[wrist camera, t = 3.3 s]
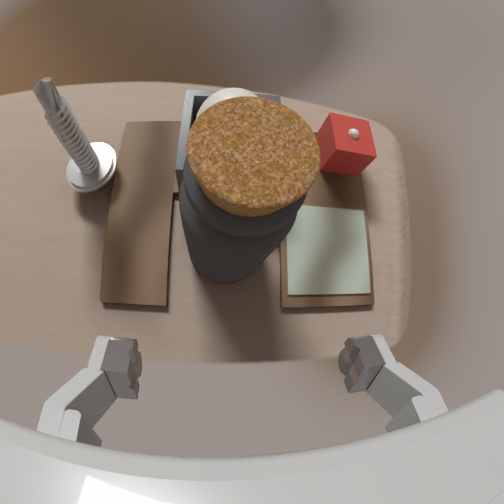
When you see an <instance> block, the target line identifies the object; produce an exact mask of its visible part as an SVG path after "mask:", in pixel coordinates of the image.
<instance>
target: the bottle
mask: <svg viewBox="0 0 504 504" xmlns="http://www.w3.org/2000/svg"><path fill="white" fill-rule="evenodd" d="M186 154H187V155H186V158H185V162H184V166H183V180H182V183H181V187H180V194H179V206H180V213H181V219H182V224H183V229H184V234H185V238H186V242H187V246H188V251H189V254H190V258H191V260H192V262H193V264H194V266H195V268H196V269H197V270H198V271H199V272H200V273H201V274H202V275H203V276H205V277H206V278H208V279H210V280H212V281H215V282H220V283H232V282H236V281H239V280H241V279H243V278H245V277H246V276H248V275H249V274H250V273H251V272H252V271H253V270H255V269H256V268H257V267H258V266H259V265H260V264H261V263H262V262H263V261H264V260H265V259H266V258H267V257H268V255H269V254H270V253H271V252H272V251H273V250H274V249H275V248H276V247H277V246H278V245H279V244H280V243H281V242H282V241H283V240H284V238H285V237H286V236H287V234H288V233H289V232H290V230H291V229H292V227H293V225H294V223H295V220H296V216H297V213H298V211H299V209H300V208H301V206H302V205H303V203H304V200H305V198H306V196H307V192H308V190H309V189H310V188H311V187H312V185H313V184H314V182H315V181H316V178H317V176H318V173H319V169H320V163H321V154H320V148H319V144H318V142H317V139H316V136H315V135H314V133H313V131H312V129H311V128H310V126H309V125H308V124H307V123H306V122H305V121H304V120H303V118H302V117H300V116H299V115H298V114H297V113H296V112H294V111H293V110H292V109H290V108H288V107H286V106H284V105H283V104H281V103H278V102H276V101H273V100H270V99H266V98H261V97H253V96H240V97H233V98H229V99H225V100H223V101H220V102H217V103H215V104H214V105H212V106H210V107H209V108H207V109H206V110H205V111H204V112H202V113H201V114H200V115H199V116H198V117H197V119H196V120H195V121H194V123H193V125H192V126H191V128H190V131H189V134H188V136H187V143H186Z"/></svg>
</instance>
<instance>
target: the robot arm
mask: <svg viewBox="0 0 504 504" xmlns="http://www.w3.org/2000/svg"><path fill="white" fill-rule="evenodd" d="M344 344H345V348H344V349H343V350H341V352H340V354H339V358H338V363H339V369H340V371H341V373H343V374H344V375H345V379H344V383H345V385H346V388H347V391H348V393H353V392H360V391H366V392H367V393H368V394H369V395H370V396H371V397H372V398H373V399H374V400H375V401H376V402H377V403H378V404H379V405H380V406H381V407H382V408H383V409H384V410H386V411H387V412H388V413H389V414H390V415H391V416H392V417H393V419H392V420H391V421H390V422H389V423H388V424H387V426H386V430H387V433H384V434H381V435H377V436H374V437H370V438H366V439H361V440H357V441H353V442H348V443H344V444H339V445H334V446H328V447H323V448H317V449H311V450H304V451H297V452H289V453H281V454H271V455H257V456H241V457H187V456H169V455H157V454H146V453H137V452H130V451H123V450H116V449H111V448H105V447H101V443H102V440H101V439H100V438H99V436H98V435H97V434H96V433H95V432H94V430H93V429H92V428H93V427H94V425H95V424H96V423H97V422H98V421H99V419H100V418H101V417H102V416H103V415H104V413H105V412H106V411H107V410H108V409H109V407H110V406H111V405H112V404H113V403H114V402H115V400H116V399H117V398H126V399H138V392H139V382H138V378H139V377H140V376H141V372H142V358H141V353H140V352H139V351H138V342H137V339H130V338H121V337H112V336H103V335H99V336H98V337H97V338H96V341H95V344H94V347H93V351H92V354H91V357H90V360H89V364H88V367H87V369H86V368H83V369H82V370H81V371H80V372H79V373H78V374H76V375H75V376H74V377H73V378H72V379H71V380H69V381H68V382H67V383H66V384H65V385H64V386H63V387H61V388H60V389H59V390H58V391H57V392H56V393H55V394H53V395H52V396H51V397H50V398H49V399H48V400H47V401H45V403H44V406H43V410H42V413H41V417H40V420H39V424H38V427H37V431H36V430H33V429H30V428H27V427H24V426H21V425H18V424H16V423H13V422H10V421H8V420H5V419H3V418H0V504H504V391H503V390H501V389H496V390H493V391H491V392H489V393H487V394H485V395H483V396H481V397H479V398H477V399H475V400H473V401H471V402H469V403H466V404H464V405H462V406H460V407H458V408H455V409H453V410H450V411H448V410H447V407H446V405H445V403H444V401H443V399H442V397H441V395H440V393H439V391H438V390H437V389H436V388H435V387H434V386H432V385H431V384H429V383H428V382H426V381H425V380H424V379H422V378H421V377H419V376H418V375H417V374H415V373H414V372H412V371H411V370H409V369H408V368H407V367H405V366H404V365H402V364H401V363H397V362H396V361H395V359H394V357H393V355H392V353H391V351H390V349H389V347H388V345H387V343H386V341H385V340H384V338H383V336H382V335H370V336H369V335H368V336H359V337H350V338H348V339H347V340H346V341H345V343H344Z"/></svg>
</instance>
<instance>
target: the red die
mask: <svg viewBox="0 0 504 504" xmlns="http://www.w3.org/2000/svg"><path fill="white" fill-rule="evenodd" d="M316 139H317V142H318V144H319V148H320V154H321V163H320V169H319V170H320V171H323V172H331V173H339V174H346V175H353V176H358V175H359V174H360V173H361V172H362V171H363V170H364V169H365V168H366V167H367V166H368V165H369V164H370V163H371V162H372V161H373V160H374V159H375V158H376V157H377V155H376V150H375V146H374V141H373V137H372V133H371V129H370V125H369V121H366V120H362V119H358V118H353V117H349V116H344V115H339V114H334V113H329V115H328V117H327V118H326V120H325V121H324V123H323V125H322V126H321V128H320V130H319V131H318V133H317V135H316Z"/></svg>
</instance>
